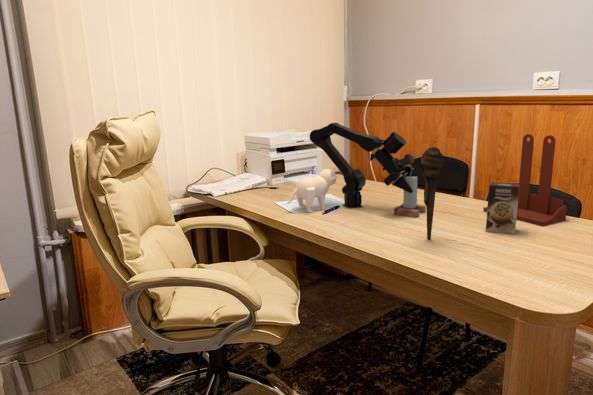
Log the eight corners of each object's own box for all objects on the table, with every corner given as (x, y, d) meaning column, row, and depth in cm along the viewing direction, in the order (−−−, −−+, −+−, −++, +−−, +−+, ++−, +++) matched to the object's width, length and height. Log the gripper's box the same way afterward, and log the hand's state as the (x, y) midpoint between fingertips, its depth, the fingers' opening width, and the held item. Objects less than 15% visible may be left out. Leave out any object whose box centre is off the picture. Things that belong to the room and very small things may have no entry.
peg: (403, 207, 168) (404, 177, 165) (406, 205, 171) (407, 175, 168) (413, 208, 165) (414, 178, 163) (416, 206, 169) (417, 176, 166)
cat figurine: (291, 216, 171) (289, 175, 167) (281, 210, 180) (279, 171, 176) (344, 207, 181) (344, 169, 177) (332, 202, 190) (332, 165, 186)
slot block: (394, 215, 167) (394, 208, 166) (403, 208, 175) (404, 202, 175) (416, 217, 162) (416, 211, 161) (425, 211, 170) (425, 205, 170)
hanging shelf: (483, 211, 167) (488, 135, 160) (505, 206, 173) (511, 132, 166) (542, 226, 146) (550, 139, 139) (565, 220, 152) (574, 136, 145)
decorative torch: (423, 235, 142) (426, 145, 135) (443, 238, 138) (447, 146, 131) (414, 240, 137) (417, 148, 130) (435, 244, 133) (439, 149, 126)
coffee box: (485, 231, 143) (488, 184, 139) (486, 226, 149) (489, 181, 145) (515, 234, 139) (519, 186, 135) (515, 229, 144) (519, 182, 141)
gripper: (392, 150, 157) (420, 182, 154) (410, 145, 172) (436, 173, 169) (372, 170, 164) (399, 201, 160) (391, 163, 178) (416, 191, 175)
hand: (413, 191), depth 166 cm, fingers closed on peg, 4 cm apart
